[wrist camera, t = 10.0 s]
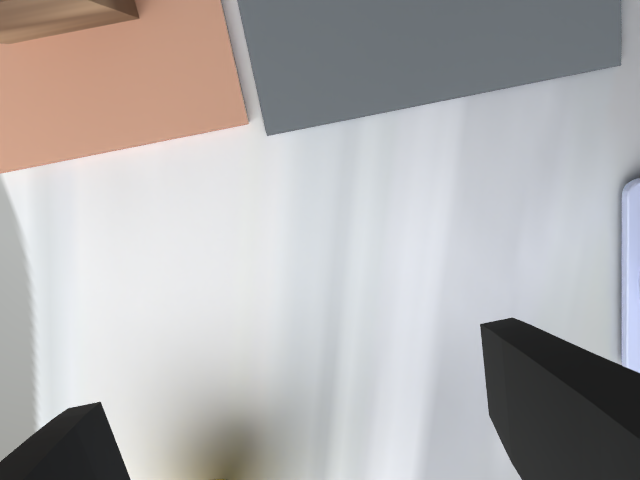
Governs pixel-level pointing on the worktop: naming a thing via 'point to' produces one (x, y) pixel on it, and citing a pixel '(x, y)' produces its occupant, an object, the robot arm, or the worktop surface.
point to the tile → (119, 85)
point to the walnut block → (59, 17)
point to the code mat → (414, 52)
